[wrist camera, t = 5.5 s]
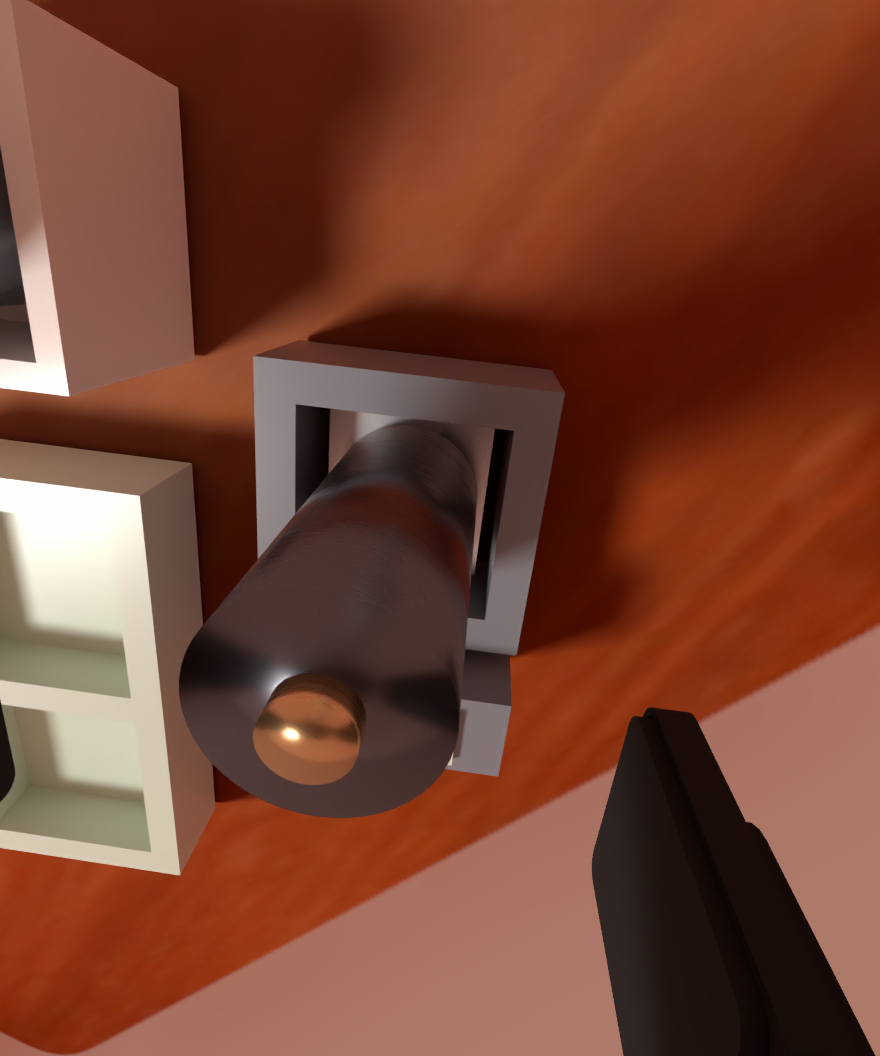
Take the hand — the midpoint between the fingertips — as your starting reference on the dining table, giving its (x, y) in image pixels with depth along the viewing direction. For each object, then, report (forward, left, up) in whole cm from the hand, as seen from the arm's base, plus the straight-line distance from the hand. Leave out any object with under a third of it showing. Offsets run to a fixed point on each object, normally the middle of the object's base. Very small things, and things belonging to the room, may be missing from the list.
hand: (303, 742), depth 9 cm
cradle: (+1, 0, -11) cm, 11 cm away
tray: (+7, -11, -11) cm, 17 cm away
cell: (-1, 0, -9) cm, 9 cm away
